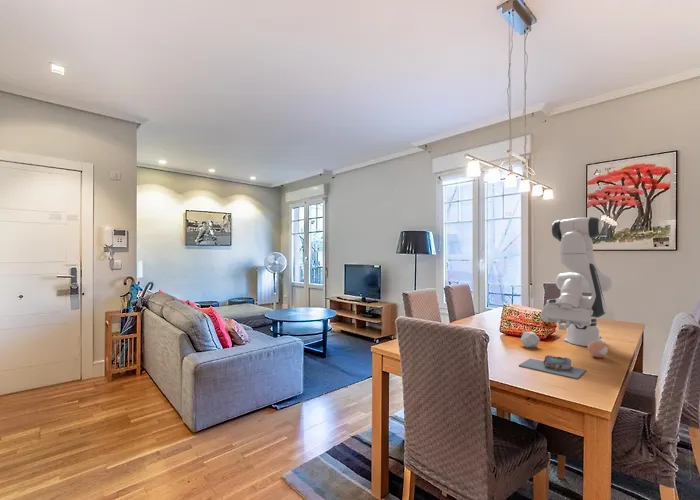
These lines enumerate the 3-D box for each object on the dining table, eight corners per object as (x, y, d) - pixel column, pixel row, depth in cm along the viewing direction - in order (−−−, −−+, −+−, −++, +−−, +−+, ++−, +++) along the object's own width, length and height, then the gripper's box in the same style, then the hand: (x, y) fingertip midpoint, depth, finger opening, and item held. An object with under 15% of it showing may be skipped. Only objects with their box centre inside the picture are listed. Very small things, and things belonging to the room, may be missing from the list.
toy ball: (608, 360, 156) (608, 343, 157) (588, 358, 161) (587, 341, 161) (606, 356, 163) (606, 339, 163) (587, 354, 167) (587, 337, 168)
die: (538, 351, 175) (544, 334, 178) (522, 342, 176) (529, 326, 180) (530, 352, 182) (536, 336, 186) (515, 344, 184) (521, 328, 187)
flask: (571, 358, 149) (570, 365, 139) (571, 365, 149) (570, 373, 139) (545, 354, 154) (542, 361, 145) (545, 361, 154) (542, 368, 145)
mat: (530, 359, 159) (530, 358, 159) (586, 370, 143) (586, 369, 143) (518, 366, 149) (518, 365, 149) (577, 379, 133) (577, 378, 133)
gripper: (595, 312, 158) (590, 337, 151) (546, 307, 173) (540, 330, 166) (592, 304, 155) (587, 328, 148) (543, 299, 170) (536, 322, 163)
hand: (562, 329), depth 157 cm, fingers closed
